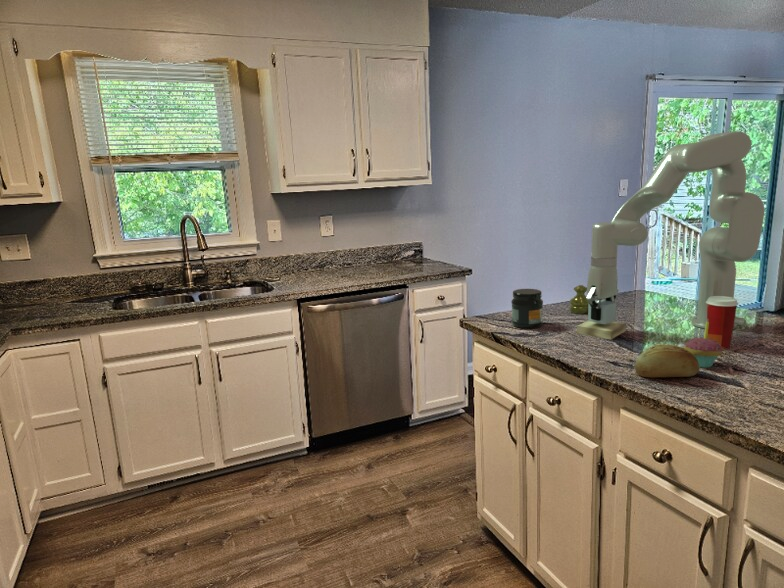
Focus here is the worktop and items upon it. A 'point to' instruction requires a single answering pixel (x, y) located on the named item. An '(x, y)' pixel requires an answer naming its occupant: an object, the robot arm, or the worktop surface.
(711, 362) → the cupcake
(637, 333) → the worktop surface
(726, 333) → the paper cup
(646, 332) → the worktop surface
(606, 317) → the blue cube
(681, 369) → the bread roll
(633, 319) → the worktop surface
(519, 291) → the supplement container
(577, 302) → the olive pawn figure
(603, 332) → the maple slab
